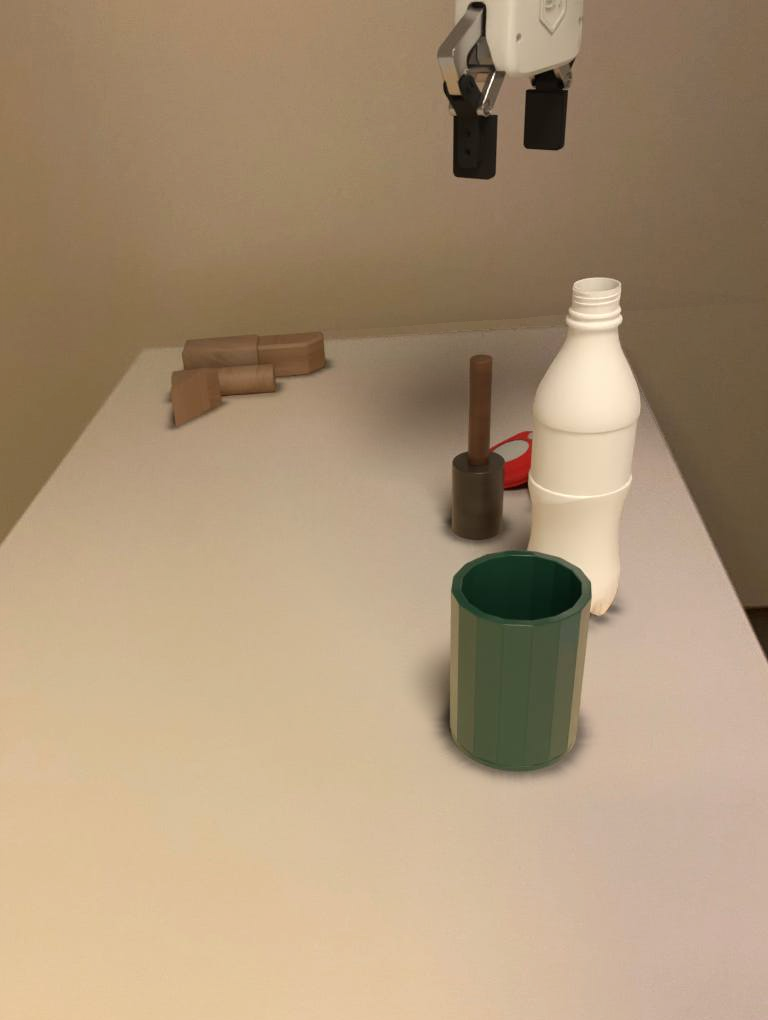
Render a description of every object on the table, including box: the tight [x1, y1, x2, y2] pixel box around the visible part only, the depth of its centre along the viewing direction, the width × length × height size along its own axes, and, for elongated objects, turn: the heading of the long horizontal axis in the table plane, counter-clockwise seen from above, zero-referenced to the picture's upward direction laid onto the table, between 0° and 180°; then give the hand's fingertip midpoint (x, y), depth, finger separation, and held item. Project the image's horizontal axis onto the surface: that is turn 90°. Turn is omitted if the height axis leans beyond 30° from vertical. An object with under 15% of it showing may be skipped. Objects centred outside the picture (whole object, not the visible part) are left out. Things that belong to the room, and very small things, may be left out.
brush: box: [451, 354, 505, 541], centre depth 84 cm, size 4×4×16 cm
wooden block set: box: [169, 331, 326, 427], centre depth 117 cm, size 17×6×18 cm
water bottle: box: [526, 277, 642, 617], centre depth 71 cm, size 7×7×25 cm
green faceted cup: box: [449, 549, 592, 773], centre depth 63 cm, size 8×8×12 cm
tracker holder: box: [490, 430, 533, 489], centre depth 94 cm, size 12×4×10 cm
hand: (510, 162), depth 73 cm, fingers open, 9 cm apart
